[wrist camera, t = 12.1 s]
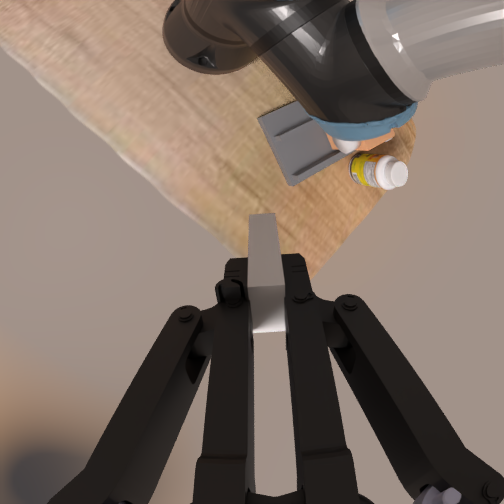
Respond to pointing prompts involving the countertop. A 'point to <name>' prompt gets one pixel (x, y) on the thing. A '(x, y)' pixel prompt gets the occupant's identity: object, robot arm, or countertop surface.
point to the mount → (298, 142)
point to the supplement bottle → (378, 171)
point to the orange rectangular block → (358, 143)
